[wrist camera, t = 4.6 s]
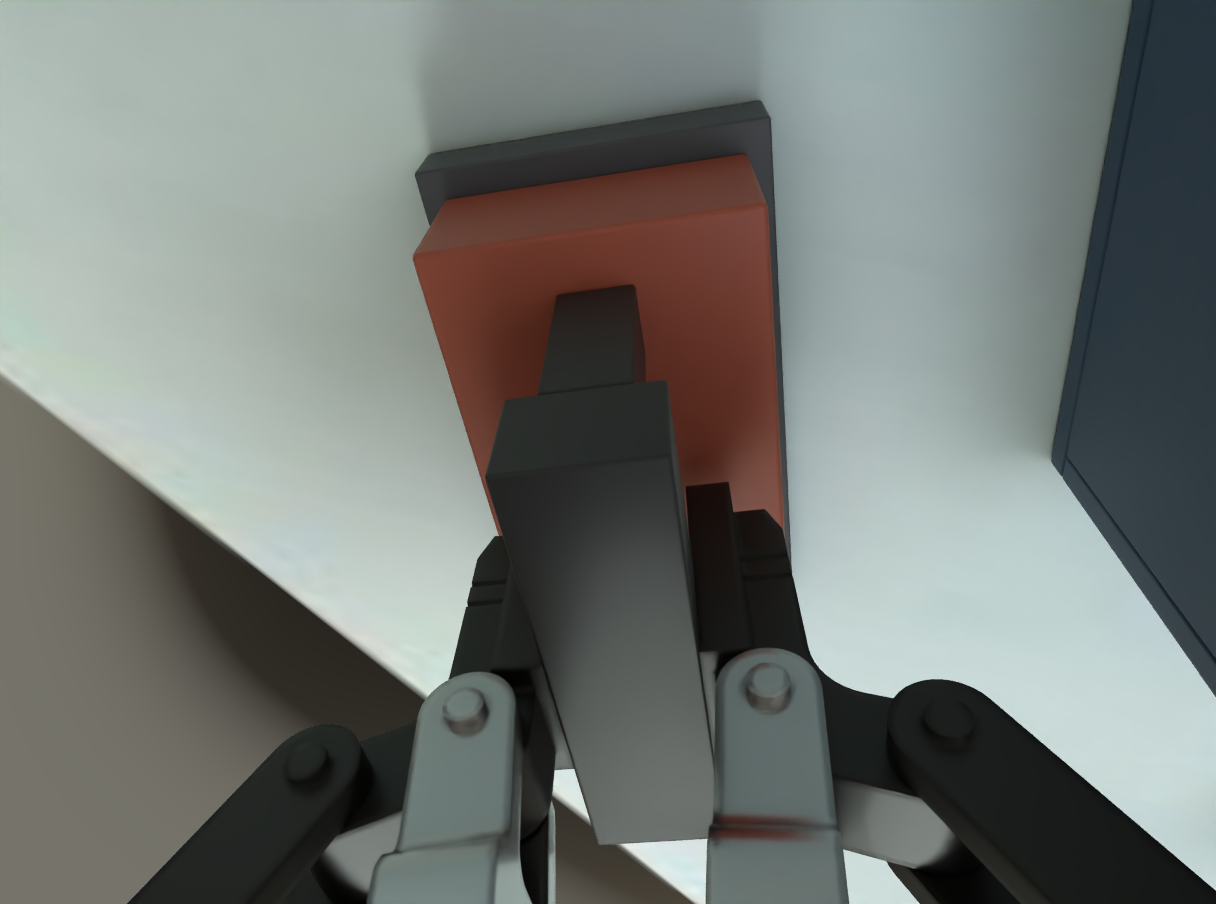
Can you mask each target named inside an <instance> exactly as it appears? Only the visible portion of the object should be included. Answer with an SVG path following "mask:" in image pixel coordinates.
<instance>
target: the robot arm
mask: <svg viewBox="0 0 1216 904" xmlns="http://www.w3.org/2000/svg"><path fill="white" fill-rule="evenodd" d="M686 500H687V514H688V527H689V538H690V545H691V553H692V560H693V567H694V580H695V593H696V605H697V618H698V630H699V643H700V651H699V656H700V663H701V670H702V677H703V684H704V690H705V697H706V704H707V711H708V718H709V725H710V732H711V739H712V746H713V753H714V796H713V821H712V824H710V825H709V830H708V840H707V869H706V904H849V898H848V889H847V880H846V871H845V862H844V853H843V849H844V850H848V851H852V852H855V853H859V854H863V855H866V856H870V857H873V858H877V859H881V860H884V861H887V863H888V865H889V867H890V868H891V869H892V871H893V872H894V873H895V875H896V876H897V877H898V878H899V879H900V881H901V882H902V883H903V884H904V885H905V887H906V888H907V889H908V890H909V891H910V892H911V894H912V895H913V896H914V897H915V898H916V900H917V901H918V902H919V903H920V904H1216V891H1215V890H1214V889H1213V888H1212V887H1211V886H1209V885H1208V884H1207V883H1206V882H1205V881H1204V880H1202V879H1201V878H1200V877H1199V876H1198V875H1197V874H1195V873H1194V872H1193V871H1192V870H1191V869H1189V868H1188V867H1187V866H1186V865H1185V864H1184V863H1182V862H1181V861H1180V860H1179V859H1178V858H1177V857H1175V856H1174V855H1173V854H1172V853H1171V852H1170V851H1168V850H1167V849H1166V848H1165V847H1164V846H1162V845H1161V844H1160V843H1159V842H1158V841H1157V840H1155V839H1154V838H1153V837H1152V836H1151V835H1150V834H1148V833H1147V832H1146V831H1145V830H1144V829H1142V828H1141V827H1140V826H1139V825H1138V824H1137V823H1135V822H1134V821H1133V820H1132V819H1131V818H1130V817H1128V816H1127V815H1126V814H1125V813H1124V812H1122V811H1121V810H1120V809H1119V808H1118V807H1117V806H1115V805H1114V804H1113V803H1112V802H1111V801H1110V800H1108V799H1107V798H1106V797H1105V796H1104V795H1102V794H1101V793H1100V792H1099V791H1098V790H1097V789H1095V788H1094V787H1093V786H1092V785H1091V784H1090V783H1088V782H1087V781H1086V780H1085V779H1084V778H1083V777H1081V776H1080V775H1079V774H1078V773H1077V772H1075V771H1074V770H1073V769H1072V768H1071V767H1070V766H1068V765H1067V764H1066V763H1065V762H1064V761H1063V760H1061V759H1060V758H1059V757H1058V756H1057V755H1055V754H1054V753H1053V752H1052V751H1051V750H1050V749H1048V748H1047V747H1046V746H1045V745H1044V744H1043V743H1041V742H1040V741H1039V740H1038V739H1037V738H1035V737H1034V736H1033V735H1032V734H1031V733H1030V732H1028V731H1027V730H1026V729H1025V728H1024V727H1023V726H1021V725H1020V724H1019V723H1018V722H1017V721H1015V720H1014V719H1013V718H1012V717H1011V716H1010V715H1008V714H1007V713H1006V712H1005V711H1004V710H1003V709H1001V708H1000V707H999V706H998V705H997V704H995V703H994V702H993V701H992V700H991V699H990V698H988V697H987V696H985V695H984V694H983V693H981V692H980V691H978V690H976V689H974V688H972V687H970V686H967V685H965V684H962V683H959V682H955V681H950V680H943V679H931V680H924V681H920V682H916V683H913V684H911V685H909V686H907V687H905V688H904V689H902V690H901V691H900V692H899V693H898V694H897V695H896V696H895V697H894V698H888V697H883V696H878V695H873V694H868V693H863V692H860V691H856V690H852V689H850V688H847V687H845V686H843V685H841V684H839V683H837V682H835V681H834V680H832V679H831V678H829V677H828V676H827V675H826V674H824V673H823V672H822V671H821V670H820V669H819V667H818V666H817V665H816V663H815V662H814V660H813V658H812V657H811V655H810V651H809V648H808V644H807V639H806V635H805V630H804V626H803V621H802V616H801V612H800V607H799V603H798V598H797V593H796V589H795V584H794V579H793V577H792V570H791V566H790V561H789V557H788V552H787V547H786V543H785V538H784V533H783V529H782V527H781V526H780V525H779V524H778V523H777V522H776V521H775V520H774V518H773V517H772V516H771V515H770V514H769V513H768V512H767V511H766V510H765V509H758V510H749V511H739V512H733V505H732V498H731V492H730V485H729V482H719V483H710V484H701V485H691V486H686ZM467 603H468V607H466V610H465V614H464V618H463V622H462V627H461V631H460V635H459V639H458V643H457V648H456V652H455V656H454V660H453V664H452V669H451V673H450V677H449V680H448V681H446V682H444V683H443V684H441V685H440V686H438V687H437V688H436V689H435V690H434V691H433V692H432V693H431V694H430V695H429V696H428V697H427V699H426V700H425V702H424V703H423V705H422V707H421V709H420V711H419V714H418V718H417V719H415V720H413V721H411V722H410V723H408V724H406V725H403V726H401V727H399V728H396V729H393V730H391V731H388V732H385V733H382V734H380V735H377V736H374V737H372V738H369V739H366V740H363V741H361V742H359V741H358V739H357V737H356V735H355V734H354V733H353V732H352V731H350V730H349V729H348V728H346V727H343V726H340V725H335V724H323V725H318V726H313V727H310V728H307V729H305V730H303V731H300V732H298V733H297V734H295V735H294V736H291V737H290V738H289V739H287V740H286V741H285V742H283V743H282V744H281V745H280V746H279V747H278V748H277V749H276V750H275V751H274V752H273V753H272V754H271V755H270V756H269V757H268V758H267V759H266V760H265V761H264V762H263V763H262V764H261V765H260V766H259V767H258V768H257V769H256V770H255V771H254V773H253V774H252V775H251V776H250V777H249V778H248V779H247V780H246V781H245V782H244V783H243V784H242V785H241V786H240V787H239V788H238V789H237V790H236V791H235V792H234V793H233V794H232V795H231V796H230V797H229V798H228V799H227V801H226V802H225V803H224V804H223V805H222V806H221V807H220V808H219V809H218V810H217V811H216V812H215V813H214V814H213V815H212V816H211V817H210V818H209V819H208V821H206V822H205V823H204V824H203V825H202V826H201V828H200V829H199V830H198V831H197V832H196V833H195V834H194V835H193V836H192V837H191V838H190V839H189V840H188V841H187V842H186V843H185V844H184V845H183V846H182V847H181V848H180V849H179V850H178V852H176V854H175V855H174V856H173V857H172V858H171V859H170V860H169V861H168V862H167V863H166V864H165V865H164V866H163V867H162V868H161V869H160V870H159V871H158V872H157V873H156V874H155V875H154V876H153V877H152V878H151V879H150V881H149V882H148V883H147V884H146V885H145V886H144V887H143V888H142V889H141V890H140V891H139V892H138V893H137V894H136V895H135V896H134V897H133V898H132V899H131V900H130V901H129V902H128V903H127V904H555V813H554V808H553V804H552V801H551V800H552V791H553V780H554V770H562V769H574V766H573V763H572V759H571V756H570V753H569V750H568V746H567V743H566V740H565V737H564V733H563V730H562V727H561V724H560V720H559V717H558V714H557V711H556V707H555V704H554V701H553V698H552V694H551V691H550V688H549V685H548V681H547V678H546V675H545V672H544V668H543V665H542V662H541V659H540V656H539V653H538V649H537V646H536V643H535V640H534V636H533V633H532V630H531V627H530V623H529V620H528V617H527V614H526V610H525V607H524V604H523V601H522V597H521V594H520V591H519V588H518V584H517V581H516V578H515V575H514V571H513V568H512V565H511V562H510V558H509V555H508V552H507V549H506V545H505V542H504V539H503V536H495V537H494V538H493V539H492V541H491V542H490V543H489V545H488V546H487V547H486V548H485V550H484V551H483V552H482V554H481V555H480V556H479V558H478V559H477V563H476V568H475V572H474V576H473V580H472V587H471V589H470V593H469V597H468V601H467Z"/></svg>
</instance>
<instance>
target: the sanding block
mask: <svg viewBox="0 0 1216 904" xmlns="http://www.w3.org/2000/svg"><path fill="white" fill-rule="evenodd" d="M415 177H416V181H417V184H418V188H419V191H420V195H421V198H422V201H423V205H424V208H425V212H426V215H427V219H428V222H429V225H430V228H429V229H428V231H427V233H426V234H425V236H424V238H423V239H422V241H421V243H420V244H419V246H418V248H417V249H416V251H415V253H414V254H413V262H414V265H415V268H416V272H417V275H418V278H419V281H420V284H421V288H422V291H423V294H424V297H425V300H426V304H427V307H428V310H429V313H430V317H431V320H432V323H433V326H434V329H435V333H436V336H437V339H438V342H439V345H440V349H441V352H442V355H443V358H444V361H445V365H446V368H447V371H448V374H449V377H450V381H451V384H452V387H453V390H454V394H455V397H456V400H457V403H458V406H459V410H460V413H461V416H462V419H463V422H464V426H465V429H466V432H467V435H468V438H469V442H470V445H471V448H472V451H473V455H474V458H475V461H476V464H477V467H478V471H479V474H480V477H481V480H482V483H483V487H484V490H485V493H486V496H487V499H488V503H489V506H490V509H491V512H492V516H493V519H494V522H495V525H496V528H497V532H498V535H499V536H503V539H504V542H505V545H506V549H507V552H508V555H509V558H510V562H511V565H512V568H513V571H514V575H515V578H516V581H517V584H518V588H519V591H520V594H521V597H522V601H523V604H524V607H525V610H526V614H527V617H528V620H529V623H530V627H531V630H532V633H533V636H534V640H535V643H536V646H537V649H538V653H539V656H540V659H541V662H542V665H543V668H544V672H545V675H546V678H547V681H548V685H549V688H550V691H551V694H552V698H553V701H554V704H555V707H556V711H557V714H558V717H559V720H560V724H561V727H562V730H563V733H564V737H565V740H566V743H567V746H568V750H569V753H570V756H571V759H572V763H573V766H574V769H575V773H576V776H577V779H578V782H579V786H580V789H581V792H582V795H583V799H584V802H585V805H586V808H587V812H588V815H589V818H590V821H591V825H592V828H593V831H594V834H595V837H596V841H597V843H598V844H599V845H607V844H624V843H641V842H658V841H676V840H693V839H708V830H709V825H710V824H712V821H713V796H714V753H713V746H712V739H711V732H710V725H709V718H708V711H707V704H706V697H705V690H704V684H703V677H702V670H701V663H700V656H699V651H700V643H699V630H698V618H697V605H696V593H695V580H694V567H693V560H692V553H691V545H690V538H689V527H688V514H687V500H686V486H691V485H701V484H710V483H719V482H729V485H730V492H731V498H732V505H733V512H739V511H749V510H758V509H765V510H766V511H767V512H768V513H769V514H770V515H771V516H772V517H773V518H774V520H775V521H776V522H777V523H778V524H779V525H780V526H781V527H782V529H783V533H784V538H785V543H786V547H787V552H788V557H789V561H790V566H791V545H790V523H789V501H788V480H787V458H786V436H785V414H784V393H783V371H782V349H781V328H780V306H779V284H778V263H777V241H776V219H775V198H774V176H773V154H772V133H771V118H770V116H769V114H768V112H767V110H766V109H765V107H764V105H763V103H762V101H754V102H748V103H742V104H735V105H729V106H723V107H717V108H711V109H705V110H698V111H692V112H686V113H680V114H674V115H668V116H661V117H655V118H649V119H643V120H637V121H631V122H624V123H618V124H612V125H606V126H600V127H594V128H587V129H581V130H575V131H569V132H563V133H557V134H550V135H544V136H538V137H532V138H526V139H520V140H513V141H507V142H501V143H495V144H489V145H483V146H476V147H470V148H464V149H458V150H452V151H445V152H439V153H433V154H430V155H428V157H427V158H426V159H425V161H424V162H423V163H422V165H421V166H420V167H419V169H418V170H417V171H416V173H415ZM791 570H792V566H791Z"/></svg>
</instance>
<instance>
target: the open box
mask: <svg viewBox="0 0 1216 904" xmlns="http://www.w3.org/2000/svg"><path fill="white" fill-rule="evenodd" d="M1051 461H1052V464H1053V465H1054V466H1055V468H1056V469H1057V471H1058V472H1059V474H1060V475H1061V476H1063V479H1064V481H1065V482H1066V484H1067V485H1068V487H1069V488H1070V489H1071V491H1072V492H1073V494H1074V495H1075V497H1076V498H1077V499H1078V501H1079V502H1080V504H1081V505H1082V507H1083V508H1084V509H1085V511H1086V512H1087V514H1088V515H1089V517H1090V518H1091V519H1092V521H1093V522H1094V524H1095V525H1096V527H1097V528H1098V529H1099V531H1100V532H1101V534H1102V535H1103V537H1104V538H1105V539H1106V541H1107V542H1108V544H1109V545H1110V547H1111V548H1112V549H1113V551H1114V552H1115V554H1116V555H1117V557H1118V558H1119V559H1120V561H1121V562H1122V564H1123V565H1124V567H1125V568H1126V569H1127V571H1128V572H1129V574H1130V575H1131V577H1132V578H1133V579H1134V581H1135V582H1136V584H1137V585H1138V587H1139V588H1140V589H1141V591H1142V592H1143V594H1144V595H1145V597H1146V598H1147V599H1148V601H1149V602H1150V604H1151V605H1152V607H1153V608H1154V609H1155V611H1156V612H1157V614H1158V615H1159V617H1160V618H1161V619H1162V621H1163V622H1164V624H1165V625H1166V627H1167V628H1168V629H1169V631H1170V632H1171V634H1172V635H1173V637H1174V638H1175V639H1176V641H1177V642H1178V644H1179V645H1180V647H1181V648H1182V649H1183V651H1184V652H1185V654H1186V655H1187V657H1188V658H1189V660H1190V661H1191V662H1192V664H1193V665H1194V667H1195V668H1196V670H1197V671H1198V672H1199V674H1200V675H1201V677H1202V678H1203V680H1204V681H1205V682H1206V684H1207V685H1208V687H1209V688H1210V690H1211V691H1212V692H1213V694H1214V695H1215V697H1216V0H1134V4H1133V10H1132V15H1131V21H1130V26H1129V32H1128V37H1127V43H1126V49H1125V54H1124V60H1123V65H1122V71H1121V76H1120V82H1119V87H1118V93H1117V99H1116V104H1115V110H1114V115H1113V121H1112V126H1111V132H1110V137H1109V143H1108V149H1107V154H1106V160H1105V165H1104V171H1103V176H1102V182H1101V187H1100V193H1099V199H1098V204H1097V210H1096V215H1095V221H1094V226H1093V232H1092V238H1091V243H1090V249H1089V254H1088V260H1087V265H1086V271H1085V276H1084V282H1083V288H1082V293H1081V299H1080V304H1079V310H1078V315H1077V321H1076V326H1075V332H1074V338H1073V343H1072V349H1071V354H1070V360H1069V365H1068V371H1067V377H1066V382H1065V388H1064V393H1063V399H1062V404H1061V410H1060V415H1059V421H1058V427H1057V432H1056V438H1055V443H1054V449H1053V454H1052V460H1051Z"/></svg>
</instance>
